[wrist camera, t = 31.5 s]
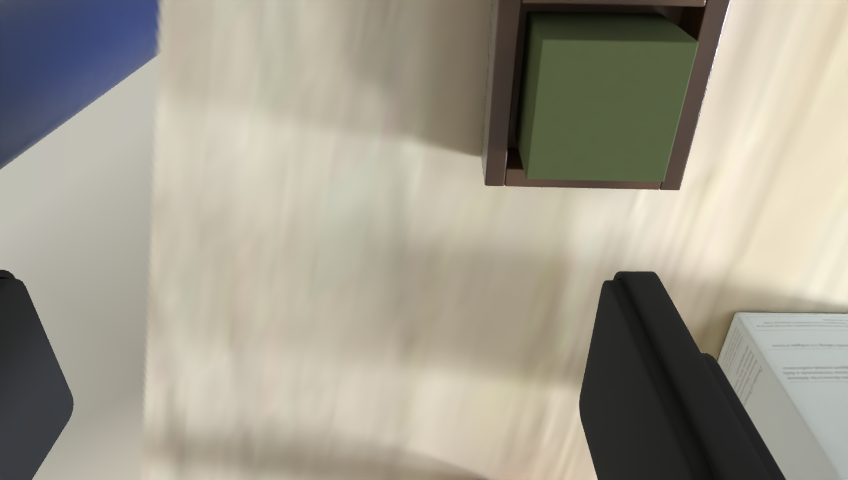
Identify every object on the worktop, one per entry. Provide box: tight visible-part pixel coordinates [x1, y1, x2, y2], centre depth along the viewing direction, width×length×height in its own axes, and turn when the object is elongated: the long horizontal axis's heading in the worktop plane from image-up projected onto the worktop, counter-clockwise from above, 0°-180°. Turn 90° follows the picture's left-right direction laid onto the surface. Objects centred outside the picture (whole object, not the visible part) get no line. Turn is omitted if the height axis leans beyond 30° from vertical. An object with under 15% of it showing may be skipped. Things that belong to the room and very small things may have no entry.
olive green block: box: [515, 11, 698, 182], centre depth 22 cm, size 5×5×4 cm
